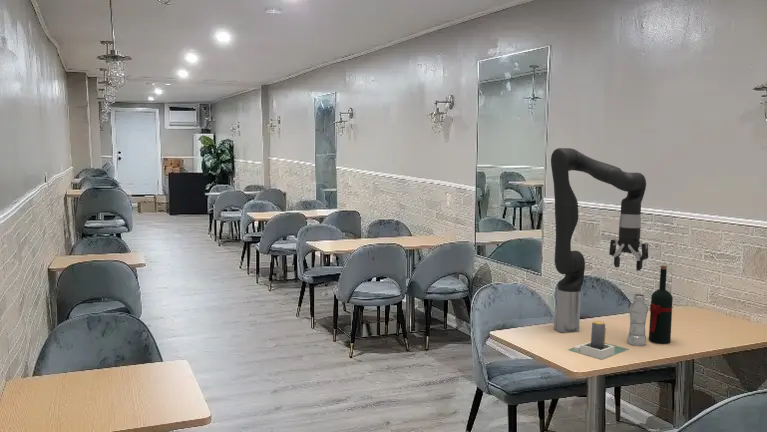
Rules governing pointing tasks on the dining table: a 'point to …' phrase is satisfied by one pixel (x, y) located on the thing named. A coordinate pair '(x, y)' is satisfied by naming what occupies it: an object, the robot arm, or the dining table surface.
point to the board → (597, 350)
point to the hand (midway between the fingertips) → (627, 268)
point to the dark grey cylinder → (598, 335)
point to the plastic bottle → (637, 321)
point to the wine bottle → (661, 312)
